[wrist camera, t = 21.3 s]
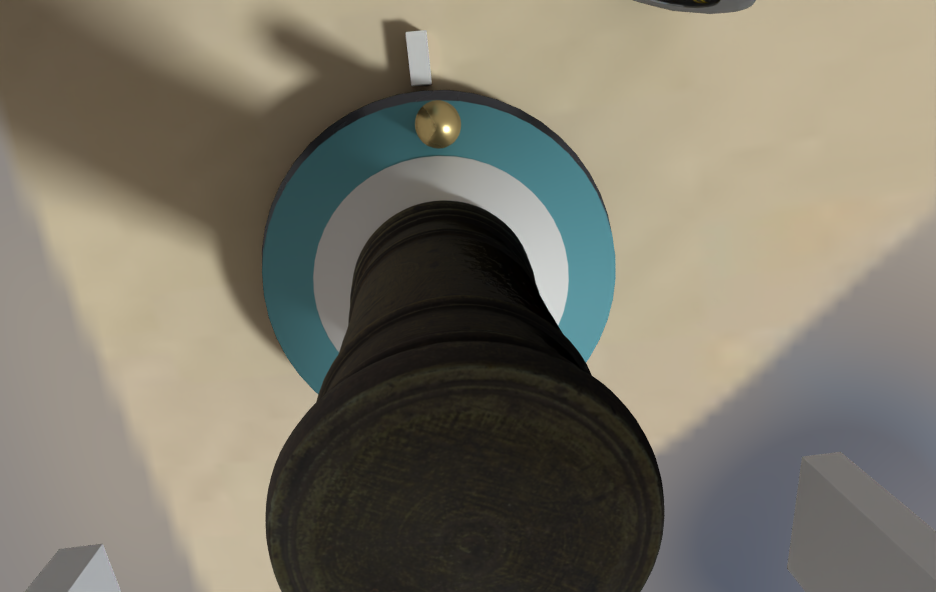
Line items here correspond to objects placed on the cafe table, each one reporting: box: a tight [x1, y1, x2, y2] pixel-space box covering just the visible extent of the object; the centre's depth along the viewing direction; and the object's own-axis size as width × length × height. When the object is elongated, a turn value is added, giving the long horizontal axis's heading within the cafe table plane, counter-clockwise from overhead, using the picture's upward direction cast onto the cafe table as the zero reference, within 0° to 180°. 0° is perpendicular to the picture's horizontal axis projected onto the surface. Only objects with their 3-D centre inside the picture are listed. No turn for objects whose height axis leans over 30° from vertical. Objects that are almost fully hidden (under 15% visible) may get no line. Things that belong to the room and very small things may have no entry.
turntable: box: [262, 100, 615, 394], centre depth 27 cm, size 18×18×6 cm
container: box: [266, 200, 664, 592], centre depth 20 cm, size 9×9×18 cm
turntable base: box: [262, 30, 611, 266], centre depth 30 cm, size 22×19×2 cm
